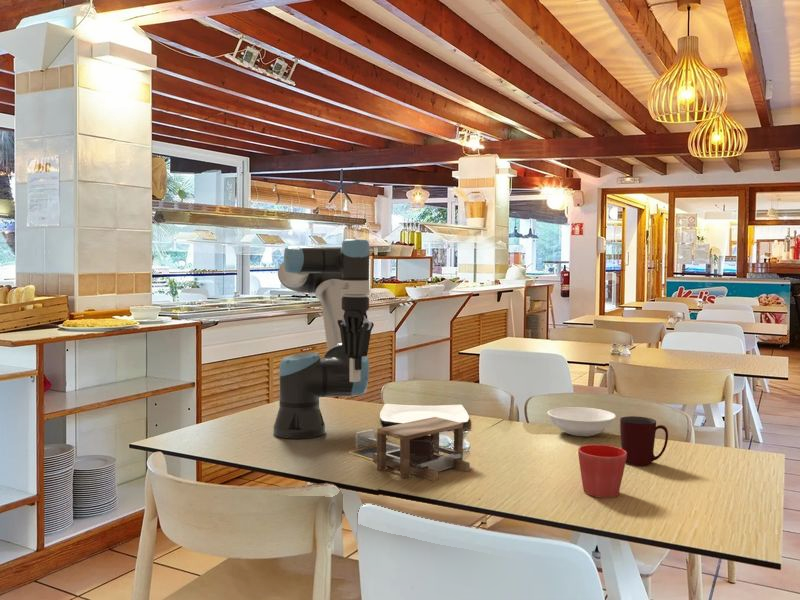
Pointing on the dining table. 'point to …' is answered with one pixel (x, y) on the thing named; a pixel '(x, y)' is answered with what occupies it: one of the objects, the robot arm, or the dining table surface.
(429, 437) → the box
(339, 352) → the robot arm
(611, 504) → the dining table surface
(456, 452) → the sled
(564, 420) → the bowl
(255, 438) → the dining table surface
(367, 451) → the mat
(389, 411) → the plate
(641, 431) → the mug
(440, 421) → the tunnel
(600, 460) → the flower pot
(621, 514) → the dining table surface
